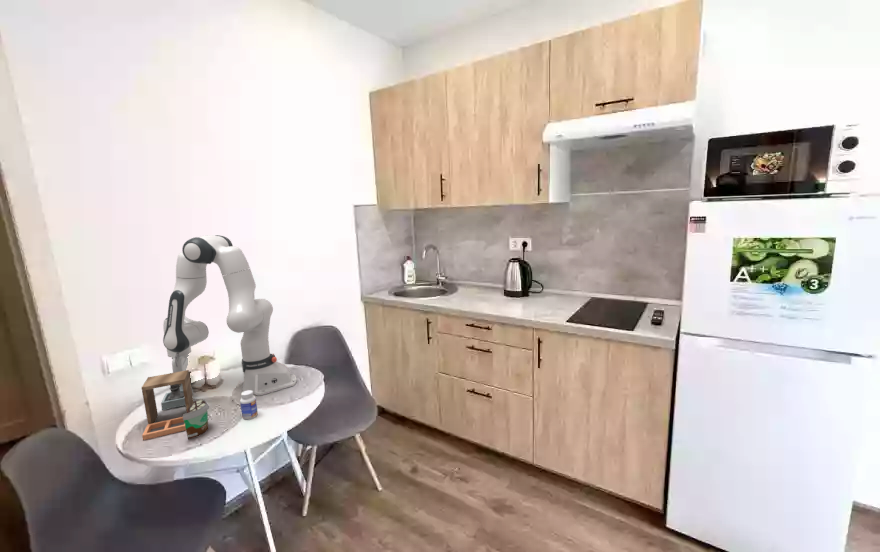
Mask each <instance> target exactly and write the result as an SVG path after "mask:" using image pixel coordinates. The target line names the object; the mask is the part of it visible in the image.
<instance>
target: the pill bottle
mask: <svg viewBox="0 0 880 552" xmlns="http://www.w3.org/2000/svg"><path fill="white" fill-rule="evenodd" d="M240 397H241V398H240V400H239V404H240V405H239V406H240V410H241V411H240V412H241V417H242V419H243V420H251V419H254V418H256V417H257V416H258V404H257V398H256V395H254V394H253V391H252V390H247V391H244V392H243V391H242V392H241V393H240Z"/></svg>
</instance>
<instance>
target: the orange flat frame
mask: <svg viewBox="0 0 880 552" xmlns="http://www.w3.org/2000/svg"><path fill="white" fill-rule="evenodd" d="M181 432H186V427H185V423H184V420H183V416H181V417H180V416H178V417H176V418H171V419H166V420H161V421H157V422H156V421H155V423H152V424H148V423H147V425H146V426H145V429H144V431H143V433H142V435H141V437H142V441H147V440H152V439H153V440H154V439H156V438H161V437H165V436H168V435H173V434H178V433H181Z"/></svg>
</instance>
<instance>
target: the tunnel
mask: <svg viewBox="0 0 880 552" xmlns="http://www.w3.org/2000/svg"><path fill="white" fill-rule="evenodd" d="M189 372H190V371H189V369H186V371H180V372H175V373H173V372H171V373H170V372H169V373H164V374H159V375H153V376H148V377H147V378H146V380H145V382H144V383H143V384H142V386H141V391H142V397H143V403H144V408H145V410H144V411H145V413H146V414H145V415H146V420H147V425H148V424H152V423H156V421H157V418H158V417H159V414H158V408H157V402H156V397H155V396H156V395H155V391H154V389H157V388H158V389H159V388H163V387H164V388H165V387H169V386H170V385H174V384H180V383H182V386H183V392H184V398H185V405H184V406H185V409H186V412H187V411H188V409H189V407H190V406H191V405H192V404H193V402H194V400H193V399H194V395H192V388H193V387H192V385H191V384H192V383H191V382H190V376H189Z"/></svg>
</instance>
